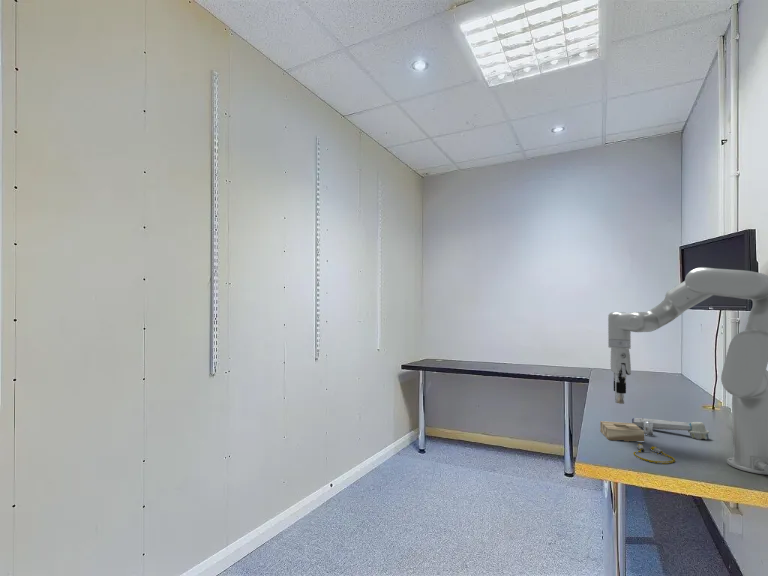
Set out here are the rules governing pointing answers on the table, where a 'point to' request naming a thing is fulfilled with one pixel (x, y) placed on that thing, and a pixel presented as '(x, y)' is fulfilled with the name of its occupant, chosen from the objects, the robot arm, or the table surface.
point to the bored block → (621, 431)
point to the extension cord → (656, 451)
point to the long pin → (618, 396)
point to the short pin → (648, 427)
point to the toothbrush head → (676, 426)
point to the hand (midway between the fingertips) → (619, 391)
